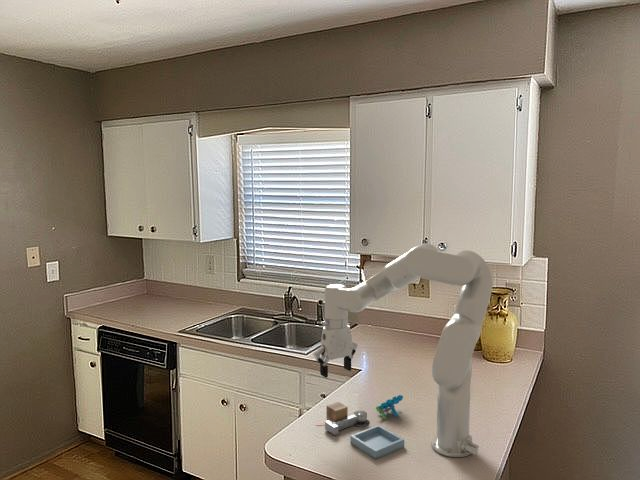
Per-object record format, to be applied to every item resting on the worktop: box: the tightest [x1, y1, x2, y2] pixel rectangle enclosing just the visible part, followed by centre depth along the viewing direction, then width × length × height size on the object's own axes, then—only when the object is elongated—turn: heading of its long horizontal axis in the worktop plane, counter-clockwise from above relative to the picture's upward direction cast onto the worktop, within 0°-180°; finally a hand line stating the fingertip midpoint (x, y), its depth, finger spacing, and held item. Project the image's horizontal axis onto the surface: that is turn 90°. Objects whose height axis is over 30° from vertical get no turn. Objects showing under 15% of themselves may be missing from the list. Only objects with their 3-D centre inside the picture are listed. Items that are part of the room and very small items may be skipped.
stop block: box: [326, 401, 349, 422], centre depth 175 cm, size 5×5×6 cm
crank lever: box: [324, 410, 368, 436], centre depth 172 cm, size 15×5×3 cm, turn 126°
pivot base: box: [315, 419, 370, 428], centre depth 174 cm, size 6×18×1 cm, turn 106°
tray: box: [349, 424, 405, 460], centre depth 160 cm, size 12×12×2 cm
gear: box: [375, 394, 404, 420], centre depth 180 cm, size 11×6×10 cm
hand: (336, 372), depth 173 cm, fingers open, 9 cm apart
